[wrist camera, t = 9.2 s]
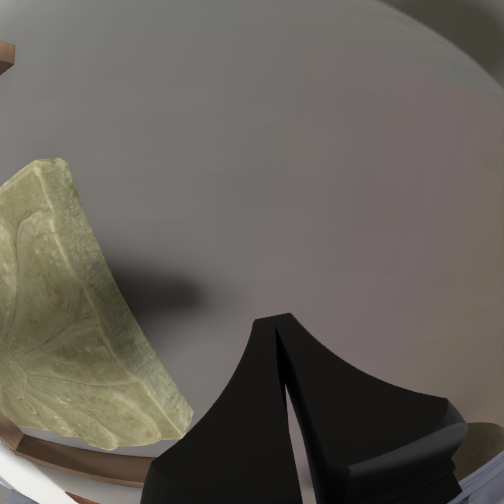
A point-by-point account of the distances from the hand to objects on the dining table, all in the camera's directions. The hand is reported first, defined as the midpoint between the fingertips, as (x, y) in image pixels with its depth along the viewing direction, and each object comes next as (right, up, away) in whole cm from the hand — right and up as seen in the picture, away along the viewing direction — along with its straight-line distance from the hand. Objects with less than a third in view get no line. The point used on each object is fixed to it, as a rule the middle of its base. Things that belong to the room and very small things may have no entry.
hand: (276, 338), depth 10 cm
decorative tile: (-17, -3, +5) cm, 18 cm away
